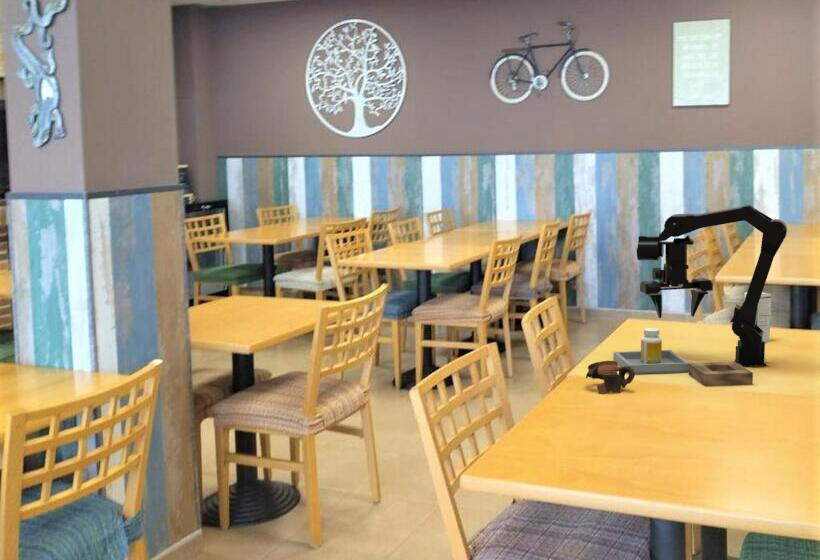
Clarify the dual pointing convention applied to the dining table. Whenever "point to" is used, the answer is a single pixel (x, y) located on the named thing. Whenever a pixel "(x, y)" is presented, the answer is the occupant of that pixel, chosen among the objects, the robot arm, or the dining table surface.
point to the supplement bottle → (651, 346)
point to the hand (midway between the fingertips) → (676, 317)
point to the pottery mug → (610, 376)
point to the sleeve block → (720, 373)
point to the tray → (667, 365)
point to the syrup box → (764, 315)
